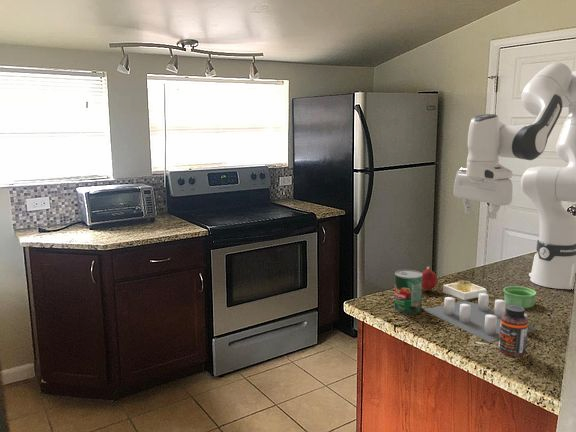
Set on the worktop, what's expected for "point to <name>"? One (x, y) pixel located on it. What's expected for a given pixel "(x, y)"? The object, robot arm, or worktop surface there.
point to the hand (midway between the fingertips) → (480, 215)
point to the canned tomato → (408, 291)
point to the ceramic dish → (472, 294)
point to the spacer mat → (474, 316)
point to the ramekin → (519, 296)
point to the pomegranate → (428, 279)
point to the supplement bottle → (513, 331)
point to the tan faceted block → (464, 286)
